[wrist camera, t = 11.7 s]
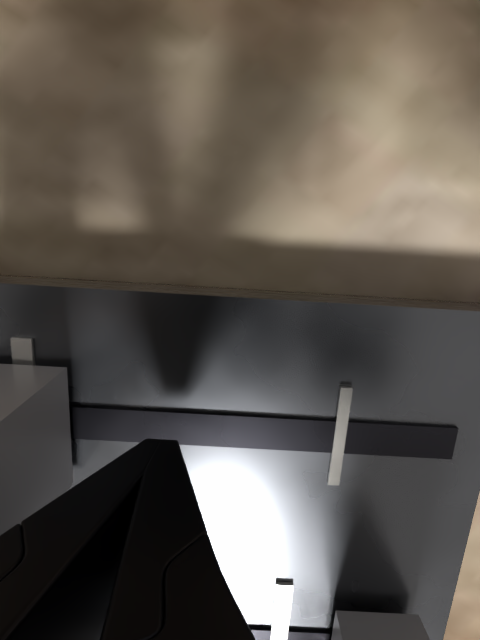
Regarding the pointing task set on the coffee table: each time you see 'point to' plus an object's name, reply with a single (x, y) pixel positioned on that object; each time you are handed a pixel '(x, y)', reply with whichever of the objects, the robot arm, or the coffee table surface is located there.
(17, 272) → the coffee table surface
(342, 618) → the fader
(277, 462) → the board
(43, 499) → the fader
